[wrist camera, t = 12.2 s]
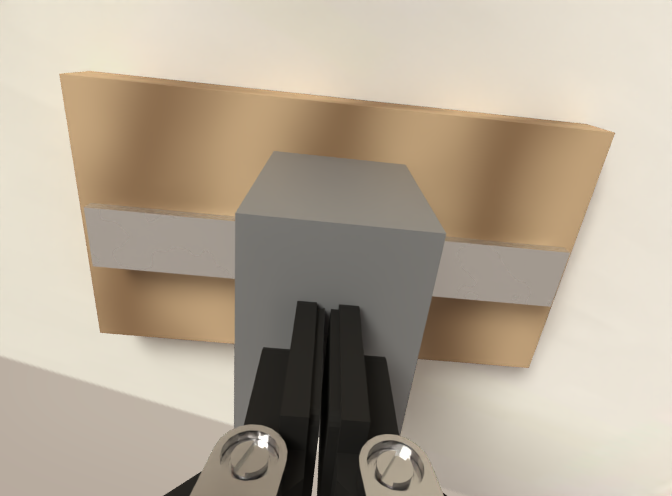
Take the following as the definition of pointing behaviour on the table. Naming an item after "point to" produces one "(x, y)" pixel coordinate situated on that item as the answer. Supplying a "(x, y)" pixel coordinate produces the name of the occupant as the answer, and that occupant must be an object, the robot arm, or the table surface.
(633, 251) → the table surface
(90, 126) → the mounting board
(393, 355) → the block
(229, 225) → the rail
